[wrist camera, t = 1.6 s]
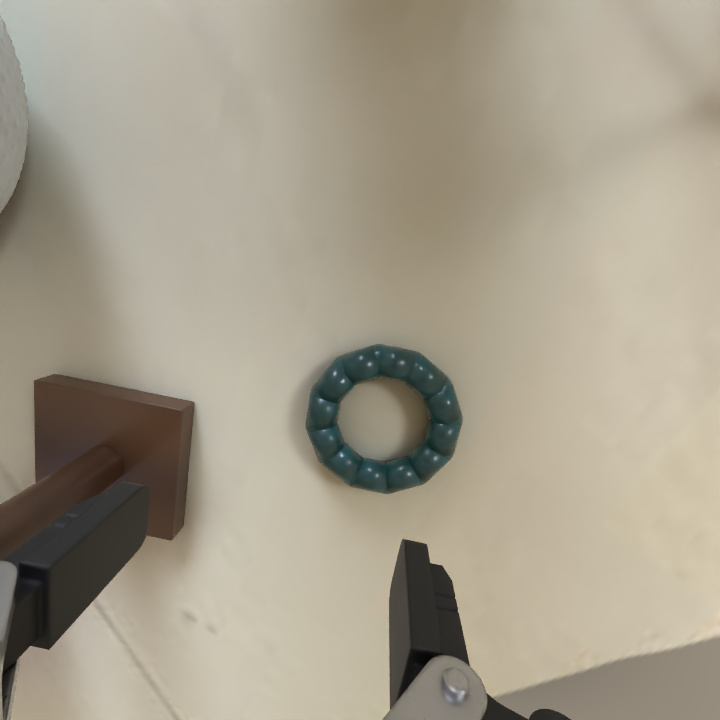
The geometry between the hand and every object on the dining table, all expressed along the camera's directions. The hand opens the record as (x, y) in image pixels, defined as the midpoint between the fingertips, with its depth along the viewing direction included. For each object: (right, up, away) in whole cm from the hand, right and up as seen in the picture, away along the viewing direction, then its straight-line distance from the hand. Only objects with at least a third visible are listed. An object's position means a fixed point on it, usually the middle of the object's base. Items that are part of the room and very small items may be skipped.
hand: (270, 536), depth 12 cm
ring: (+4, +2, +11) cm, 11 cm away
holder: (-13, -1, +13) cm, 18 cm away
